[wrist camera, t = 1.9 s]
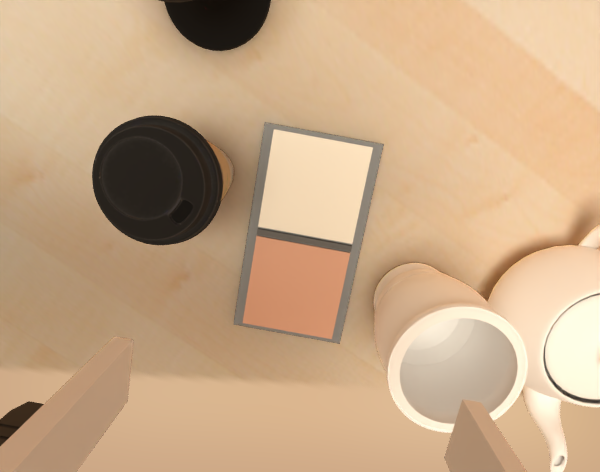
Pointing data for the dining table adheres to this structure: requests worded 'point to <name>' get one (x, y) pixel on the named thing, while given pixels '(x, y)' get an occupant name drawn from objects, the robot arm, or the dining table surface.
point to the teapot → (556, 331)
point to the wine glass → (218, 21)
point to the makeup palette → (305, 231)
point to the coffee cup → (160, 180)
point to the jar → (444, 347)
